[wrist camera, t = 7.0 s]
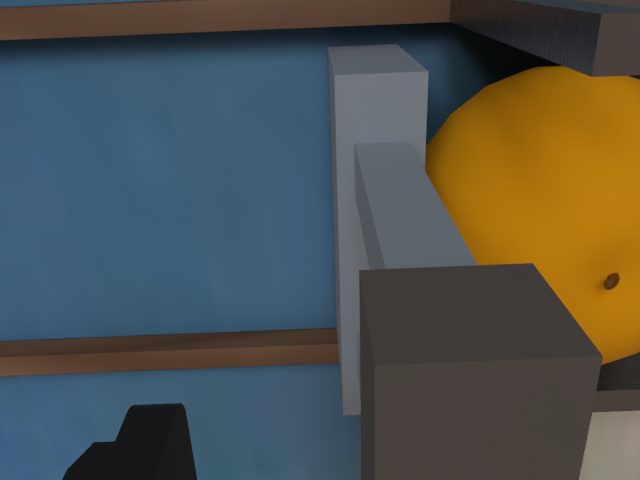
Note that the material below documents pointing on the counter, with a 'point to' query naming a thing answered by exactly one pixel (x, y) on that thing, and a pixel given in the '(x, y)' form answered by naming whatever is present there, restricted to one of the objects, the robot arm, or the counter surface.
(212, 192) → the counter surface
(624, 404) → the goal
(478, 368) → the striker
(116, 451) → the robot arm
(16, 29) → the rails
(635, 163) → the orange
